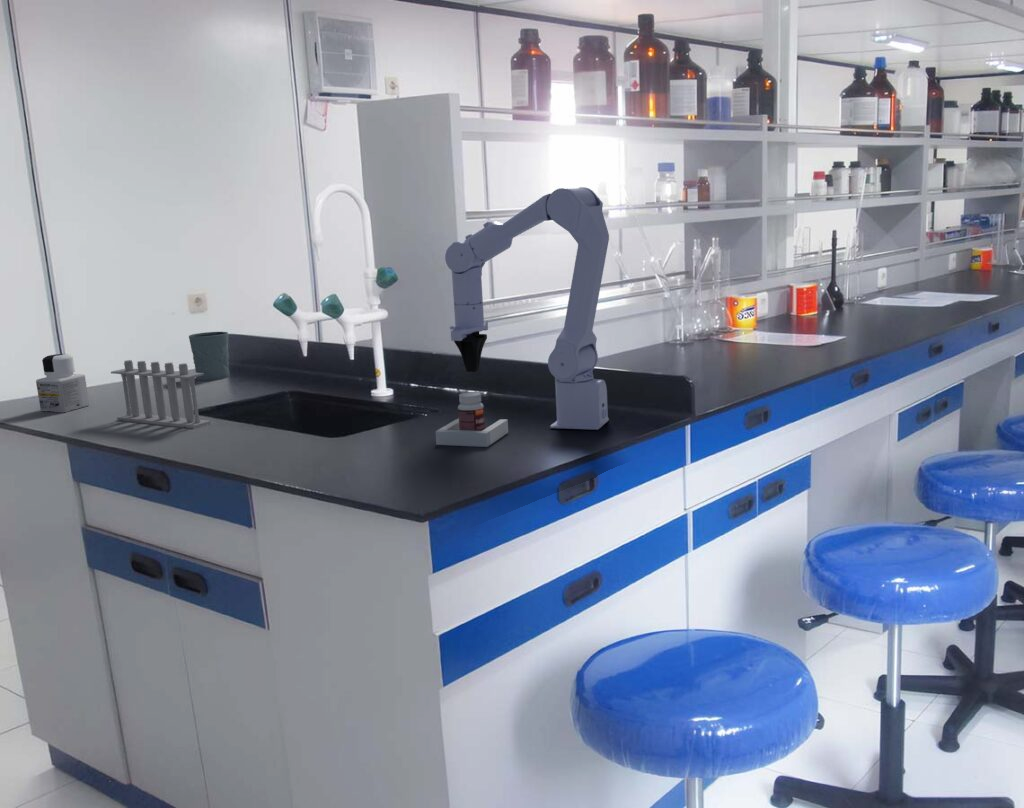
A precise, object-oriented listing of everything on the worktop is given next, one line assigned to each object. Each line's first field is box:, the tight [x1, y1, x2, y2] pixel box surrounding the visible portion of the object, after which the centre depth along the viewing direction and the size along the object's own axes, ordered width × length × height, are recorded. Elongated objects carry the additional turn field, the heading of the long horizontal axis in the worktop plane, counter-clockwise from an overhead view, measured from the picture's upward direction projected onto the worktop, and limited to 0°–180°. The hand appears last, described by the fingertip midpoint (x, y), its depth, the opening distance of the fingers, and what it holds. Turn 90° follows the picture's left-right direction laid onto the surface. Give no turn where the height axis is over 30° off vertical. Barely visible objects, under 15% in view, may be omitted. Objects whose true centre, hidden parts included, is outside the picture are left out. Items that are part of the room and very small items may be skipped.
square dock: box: [435, 417, 509, 448], centre depth 175 cm, size 10×10×2 cm
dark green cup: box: [188, 331, 230, 382], centre depth 257 cm, size 10×10×12 cm
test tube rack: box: [110, 359, 211, 429], centre depth 203 cm, size 25×4×13 cm, turn 59°
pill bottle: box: [457, 391, 486, 431], centre depth 174 cm, size 5×5×8 cm
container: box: [35, 353, 90, 413], centre depth 224 cm, size 8×8×13 cm
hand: (472, 371), depth 190 cm, fingers closed
